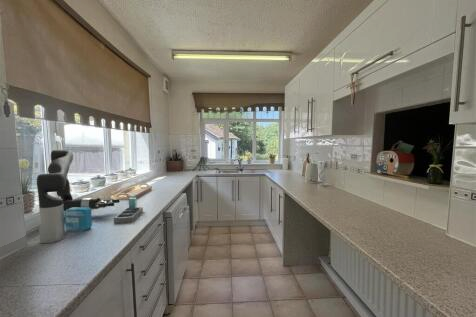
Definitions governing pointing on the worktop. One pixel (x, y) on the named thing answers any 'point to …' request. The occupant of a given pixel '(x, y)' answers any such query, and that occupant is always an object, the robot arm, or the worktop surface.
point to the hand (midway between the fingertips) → (116, 202)
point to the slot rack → (128, 215)
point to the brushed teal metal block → (132, 203)
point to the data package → (78, 219)
